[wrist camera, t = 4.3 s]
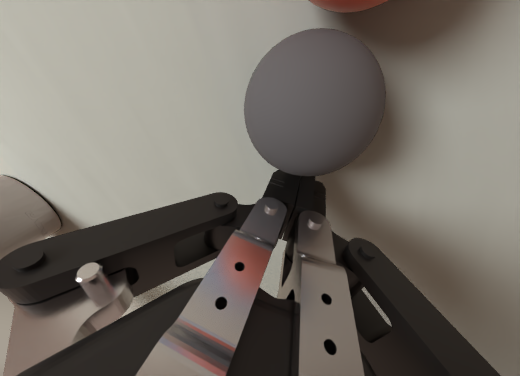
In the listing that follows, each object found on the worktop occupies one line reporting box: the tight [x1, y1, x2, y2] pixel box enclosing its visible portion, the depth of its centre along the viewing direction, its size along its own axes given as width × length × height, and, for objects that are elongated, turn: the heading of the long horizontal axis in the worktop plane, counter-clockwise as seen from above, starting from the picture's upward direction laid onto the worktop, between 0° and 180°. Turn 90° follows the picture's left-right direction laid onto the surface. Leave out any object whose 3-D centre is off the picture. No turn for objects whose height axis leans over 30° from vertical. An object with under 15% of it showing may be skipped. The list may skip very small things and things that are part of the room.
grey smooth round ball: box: [244, 28, 386, 176], centre depth 8 cm, size 6×6×6 cm
